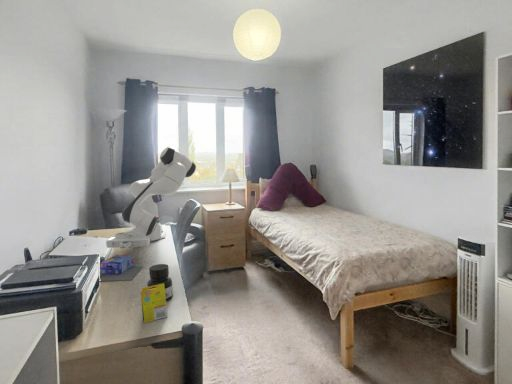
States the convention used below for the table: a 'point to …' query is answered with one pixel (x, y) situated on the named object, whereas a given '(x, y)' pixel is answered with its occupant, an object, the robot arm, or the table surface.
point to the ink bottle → (161, 279)
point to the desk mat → (122, 275)
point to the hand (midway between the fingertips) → (122, 246)
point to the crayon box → (153, 303)
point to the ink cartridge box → (117, 264)
